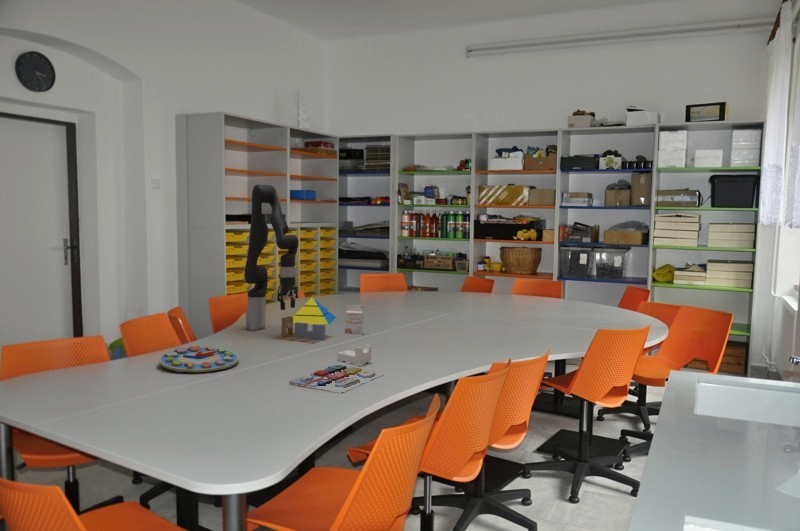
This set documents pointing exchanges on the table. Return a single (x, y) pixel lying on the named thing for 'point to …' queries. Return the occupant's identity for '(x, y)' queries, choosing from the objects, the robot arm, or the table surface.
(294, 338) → the walnut base board
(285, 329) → the oak slotted plate
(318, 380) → the puzzle board
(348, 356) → the bracket
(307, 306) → the pyramid toy
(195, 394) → the table surface
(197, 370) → the shape sorting clock
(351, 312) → the ink cartridge box
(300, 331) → the slate-blue slotted plate
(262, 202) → the robot arm
